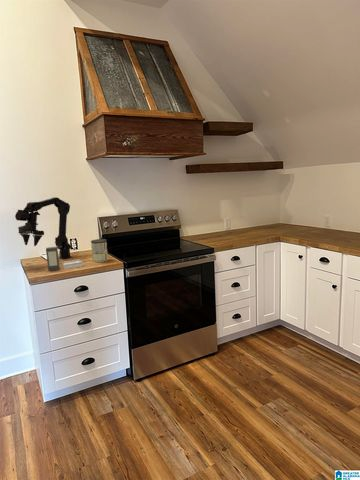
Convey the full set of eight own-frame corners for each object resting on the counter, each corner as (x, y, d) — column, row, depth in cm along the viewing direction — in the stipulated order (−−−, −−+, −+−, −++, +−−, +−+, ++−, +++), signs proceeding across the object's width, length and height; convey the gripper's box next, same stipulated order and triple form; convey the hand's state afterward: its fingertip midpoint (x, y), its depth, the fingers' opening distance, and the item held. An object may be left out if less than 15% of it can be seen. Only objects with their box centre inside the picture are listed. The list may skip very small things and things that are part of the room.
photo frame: (48, 269, 223) (46, 247, 221) (59, 268, 225) (57, 246, 223) (48, 270, 219) (45, 248, 217) (59, 269, 221) (57, 247, 218)
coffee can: (91, 260, 243) (89, 240, 240) (105, 258, 247) (104, 238, 245) (94, 263, 234) (92, 242, 231) (109, 260, 238) (108, 240, 236)
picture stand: (63, 265, 230) (62, 261, 230) (80, 263, 235) (79, 259, 235) (65, 269, 221) (65, 264, 221) (83, 266, 226) (82, 262, 226)
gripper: (11, 220, 226) (10, 244, 227) (30, 221, 217) (28, 246, 217) (27, 221, 236) (25, 244, 236) (45, 222, 227) (44, 246, 227)
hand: (30, 245), depth 229 cm, fingers open, 9 cm apart
